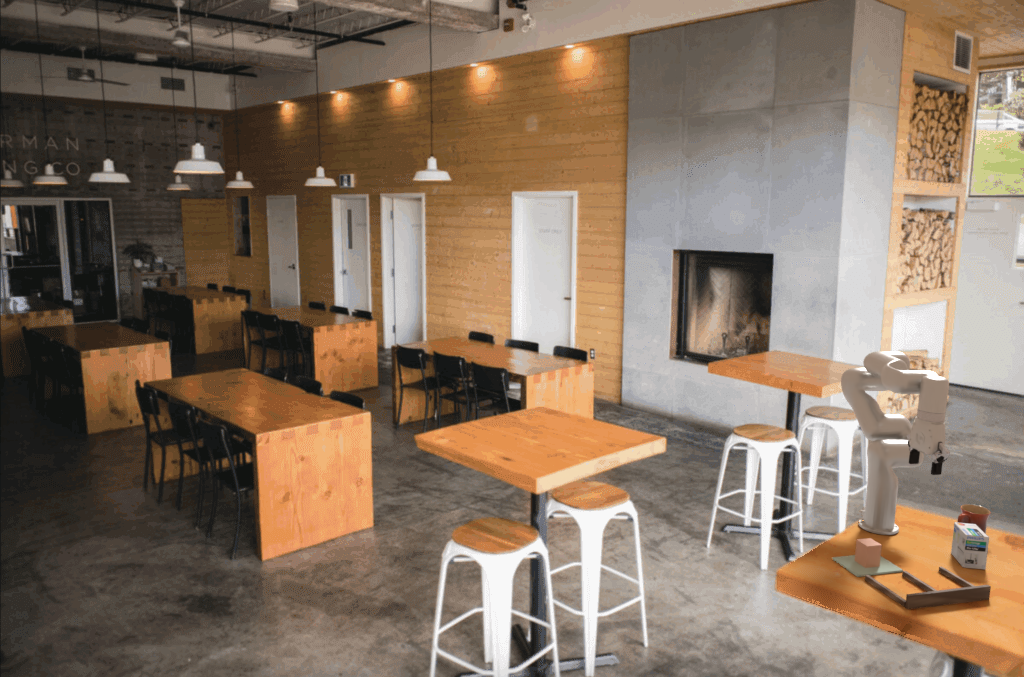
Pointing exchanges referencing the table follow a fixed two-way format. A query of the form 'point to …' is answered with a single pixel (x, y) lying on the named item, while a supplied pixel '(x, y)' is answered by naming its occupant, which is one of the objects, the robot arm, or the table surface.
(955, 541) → the light bulb box
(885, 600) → the table surface
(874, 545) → the block
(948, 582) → the table surface
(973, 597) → the lane rack
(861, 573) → the mat
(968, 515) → the mug
